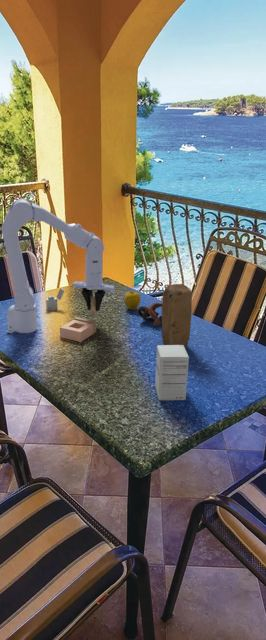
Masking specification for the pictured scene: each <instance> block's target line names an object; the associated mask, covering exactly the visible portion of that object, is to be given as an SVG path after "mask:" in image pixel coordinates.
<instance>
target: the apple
mask: <svg viewBox="0 0 266 640" xmlns="http://www.w3.org/2000/svg"><path fill="white" fill-rule="evenodd" d="M123 299H124V305H125V306H126V308H127V309H128V310H132V311H133V310H134V311H135V310H137V309H138V307H140V303H141V295H140V293H139V292H136V291H131V290H130V289H129V290H128V291H127V292H126V293H125V295H124V298H123Z"/></svg>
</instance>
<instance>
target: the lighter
mask: <svg viewBox="0 0 266 640" xmlns="http://www.w3.org/2000/svg"><path fill="white" fill-rule="evenodd" d="M64 293H65V289H64V288H60V289H59V291H58V293H57V295H56V296H55V295H51V296H48V298H46V299H45V305H46V306H45V309H46V311H54V310H55V311H56V309H57V310H58V300H61V299H62V298H63V296H64Z"/></svg>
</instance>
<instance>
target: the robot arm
mask: <svg viewBox="0 0 266 640" xmlns="http://www.w3.org/2000/svg"><path fill="white" fill-rule="evenodd" d="M31 220H32V222H36V223H37V222H43V223H45V224H47V225H49V226H50V227H53V228H54V229H56V230H58V231H59V232H60V233H63V235H64V239H66V240H67V241H69V242H70V243H72V244H74V245H75V246H77V247H79V248H81V249H85V250H86V251H85V262H84V263H85V270H84V271H85V278H84V279H85V281H74V282H73V284H72V285H73V287H72V288H73V289H80V290H81V289H82V290H81V295H82V297H83V298H84V301H85V303H86V307H87V310H88V311H90V296H91V295H93V293H94V295H95V299H96V311H97V312H99V311H100V309H101V306H102V302H103V299H104V296H105V295H106V293H110V294H114V293H115V292H116V291H115V290H116V287H115V286H114V285H110V284H106V283H103V254H104V253H103V252H104V250H105V246H104V243H103V241H102V240H101V239H100V238H99V237H98V236H97V235H96V234H94V233H93V232H89V231H88V230H86V229H84V228H83V226H82V225H81V224H80V223H77V224H76V223H67V222H65V221H64V220H62V219H61V218H59V217H58V216H56V215H55V214H54V213H52V212H50V211H48V210H47V209H45V208H44V207H42V206H40V205H39V204H37V203H35V202H31V201H29V200H28V199H26V198H18V199H16V200H14V202H13V203H11V205H10V206H9V208H8V211H7V213H6V215H5V218H4V220H3V222H2V224H1V234H2V237H3V241H4V242H3V243H4V246H5V250H6V255H7V259H8V260H7V261H8V263H9V264H8V265H9V269H10V272H11V276H12V281H13V287H14V304H12V305H10V306H9V308H8V309H7V312H6V320H7V329H8V330H6V333H9V334H13V333H15V332H17V333H20V334H31V333H34V332H36V331H37V330H38V325H37V324H38V323H37V321H38V320H37V305H36V304H35V298H34V289H33V288H32V287H31V285H30V284H29V280H28V279H29V278H28V275H27V271H26V267H25V263H24V257H23V253H22V247H21V245H20V244H21V243H20V239H19V236H18V232H19V231H20V230H21V228H22V227H23V226H24V225H25V224H27V223H29V222H30V221H31ZM94 291H96V292H94Z"/></svg>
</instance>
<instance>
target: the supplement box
mask: <svg viewBox="0 0 266 640" xmlns="http://www.w3.org/2000/svg"><path fill="white" fill-rule="evenodd" d="M189 362H190V357H189V354H188V352H187V350H186V347H184V345H165V344H160V345H157V346H156V363H155V383H154V388H155V390H156V394H157V399H158V401H186V397H187V384H188V373H189Z"/></svg>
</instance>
